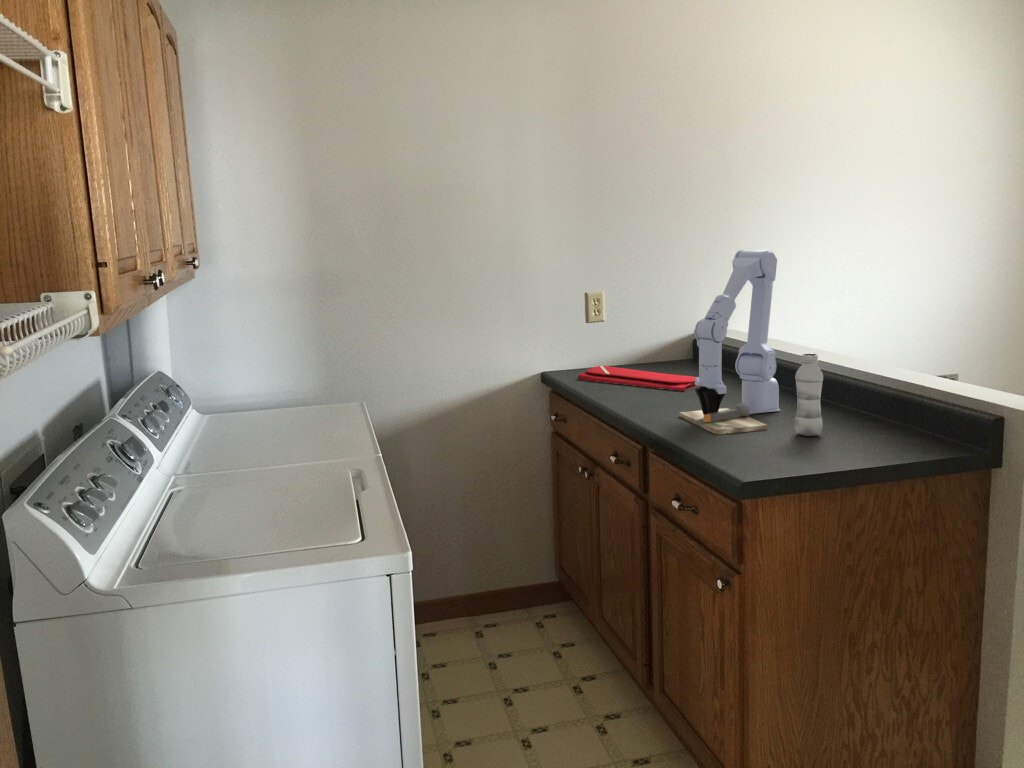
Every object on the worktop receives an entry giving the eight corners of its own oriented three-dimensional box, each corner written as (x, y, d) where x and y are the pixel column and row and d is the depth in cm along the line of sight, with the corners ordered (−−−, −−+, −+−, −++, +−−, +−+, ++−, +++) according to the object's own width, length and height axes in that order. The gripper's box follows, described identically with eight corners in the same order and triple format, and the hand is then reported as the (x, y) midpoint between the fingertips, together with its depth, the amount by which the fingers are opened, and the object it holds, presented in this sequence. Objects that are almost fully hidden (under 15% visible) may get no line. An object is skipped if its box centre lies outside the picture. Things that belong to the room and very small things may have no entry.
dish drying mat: (683, 393, 279) (683, 381, 279) (577, 381, 306) (576, 370, 305) (708, 385, 291) (708, 373, 290) (603, 374, 317) (603, 364, 317)
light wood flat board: (726, 412, 250) (727, 407, 249) (769, 430, 227) (769, 425, 227) (676, 416, 246) (676, 411, 246) (715, 436, 224) (715, 430, 224)
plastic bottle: (808, 440, 217) (810, 357, 213) (788, 434, 223) (789, 354, 219) (828, 436, 220) (830, 354, 216) (807, 430, 226) (809, 351, 222)
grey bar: (743, 412, 241) (743, 402, 241) (752, 415, 238) (752, 405, 237) (700, 420, 234) (700, 410, 233) (709, 423, 231) (709, 412, 230)
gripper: (684, 361, 241) (684, 411, 243) (708, 370, 227) (708, 423, 229) (708, 359, 242) (708, 409, 245) (734, 368, 228) (733, 420, 231)
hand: (710, 416), depth 237 cm, fingers open, 3 cm apart
